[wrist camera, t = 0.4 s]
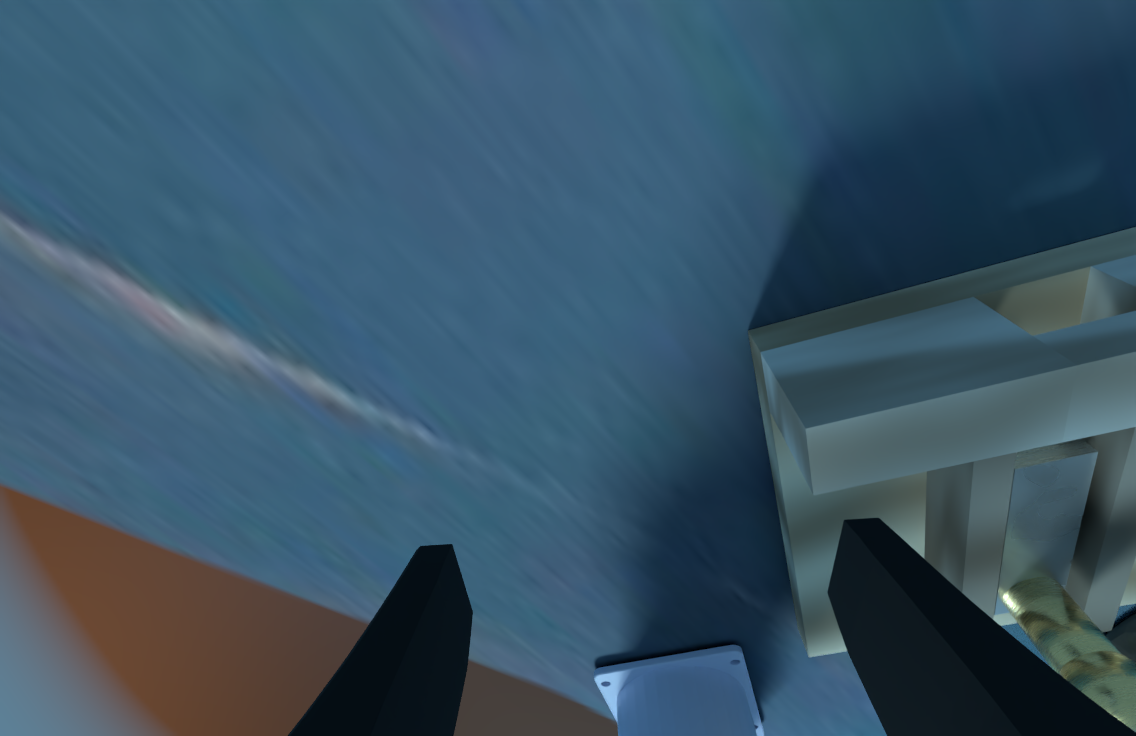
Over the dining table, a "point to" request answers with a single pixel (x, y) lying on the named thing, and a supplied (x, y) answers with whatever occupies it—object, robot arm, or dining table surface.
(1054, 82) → the dining table surface
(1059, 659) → the bolt
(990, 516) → the door board
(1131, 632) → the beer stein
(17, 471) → the dining table surface
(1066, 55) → the dining table surface
